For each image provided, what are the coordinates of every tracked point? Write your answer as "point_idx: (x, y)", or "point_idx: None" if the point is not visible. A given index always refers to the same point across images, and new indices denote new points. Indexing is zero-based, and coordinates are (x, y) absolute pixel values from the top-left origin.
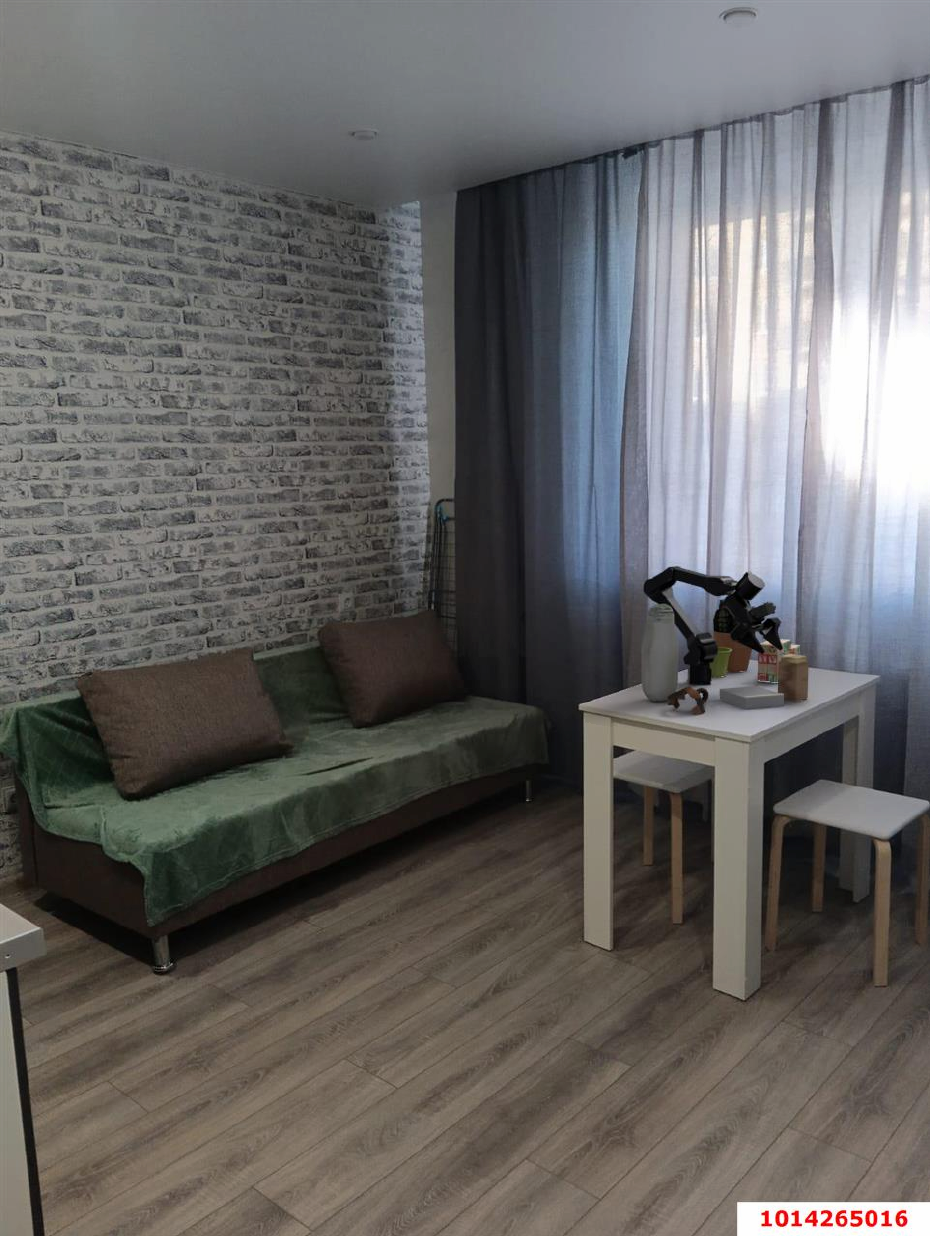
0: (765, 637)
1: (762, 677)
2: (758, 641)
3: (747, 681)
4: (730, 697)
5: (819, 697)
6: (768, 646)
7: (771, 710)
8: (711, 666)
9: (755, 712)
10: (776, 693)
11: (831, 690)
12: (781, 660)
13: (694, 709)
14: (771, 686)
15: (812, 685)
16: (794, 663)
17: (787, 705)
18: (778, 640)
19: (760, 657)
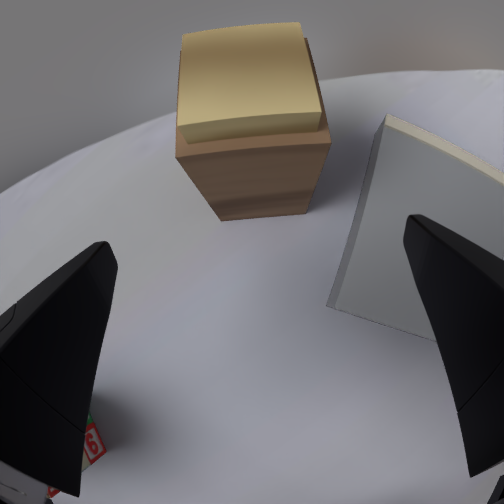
0: (69, 468)
1: (91, 443)
2: (489, 273)
3: (129, 477)
4: None
5: (166, 140)
6: None
7: (445, 128)
8: None
9: (490, 147)
10: (388, 148)
11: (53, 194)
12: (316, 124)
13: None
14: (125, 379)
15: (29, 283)
16: (308, 49)
17: (361, 129)
18: (60, 287)
19: None
